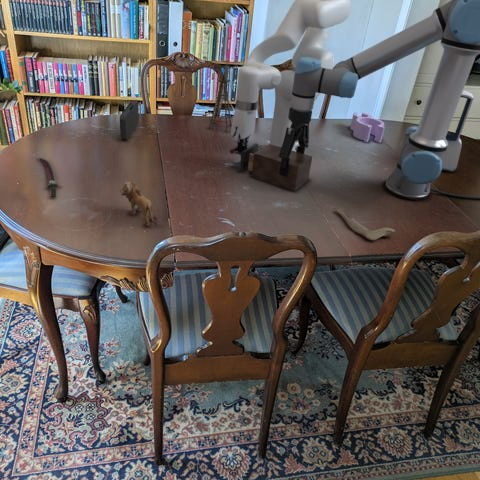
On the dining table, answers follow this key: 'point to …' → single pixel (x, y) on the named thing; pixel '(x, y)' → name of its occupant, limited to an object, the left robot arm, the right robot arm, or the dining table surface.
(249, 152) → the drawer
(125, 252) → the dining table surface
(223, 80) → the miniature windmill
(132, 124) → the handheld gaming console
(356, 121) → the clip
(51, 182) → the sword
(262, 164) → the dark wooden block
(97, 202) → the dining table surface
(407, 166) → the right robot arm
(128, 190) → the lion figurine
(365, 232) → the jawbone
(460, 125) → the electronic device
